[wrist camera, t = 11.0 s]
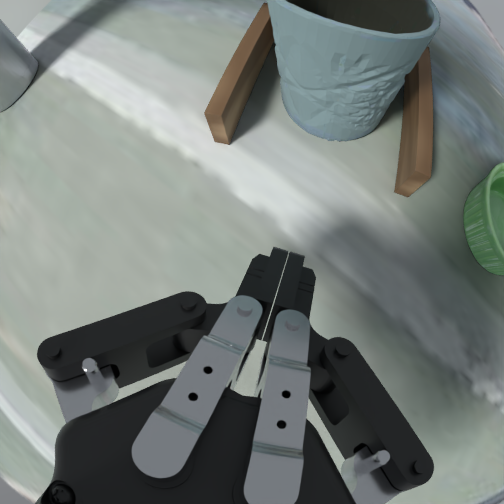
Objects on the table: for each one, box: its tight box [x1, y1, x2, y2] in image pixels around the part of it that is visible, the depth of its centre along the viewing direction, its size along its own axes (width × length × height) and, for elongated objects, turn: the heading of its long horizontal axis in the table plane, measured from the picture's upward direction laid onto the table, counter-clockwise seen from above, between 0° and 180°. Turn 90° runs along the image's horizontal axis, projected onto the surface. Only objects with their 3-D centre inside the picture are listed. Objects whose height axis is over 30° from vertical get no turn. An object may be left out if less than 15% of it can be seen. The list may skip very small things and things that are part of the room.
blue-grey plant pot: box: [267, 0, 440, 141], centre depth 17 cm, size 10×10×12 cm
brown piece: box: [205, 3, 433, 197], centre depth 21 cm, size 15×14×4 cm
